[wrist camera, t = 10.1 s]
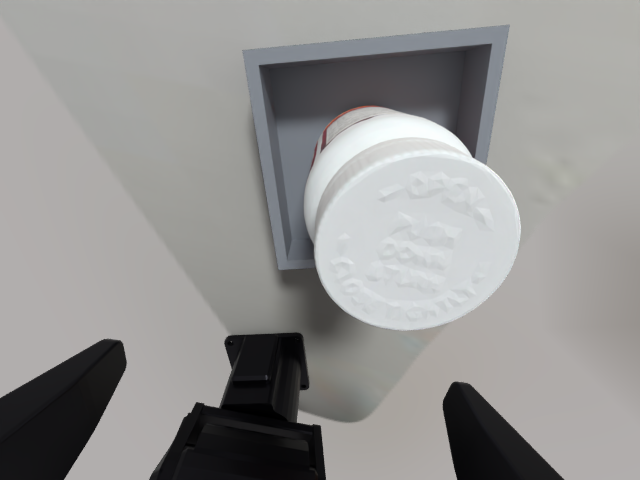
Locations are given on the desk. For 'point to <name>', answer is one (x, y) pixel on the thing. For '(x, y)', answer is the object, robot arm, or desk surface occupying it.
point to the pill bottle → (406, 220)
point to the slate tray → (363, 90)
